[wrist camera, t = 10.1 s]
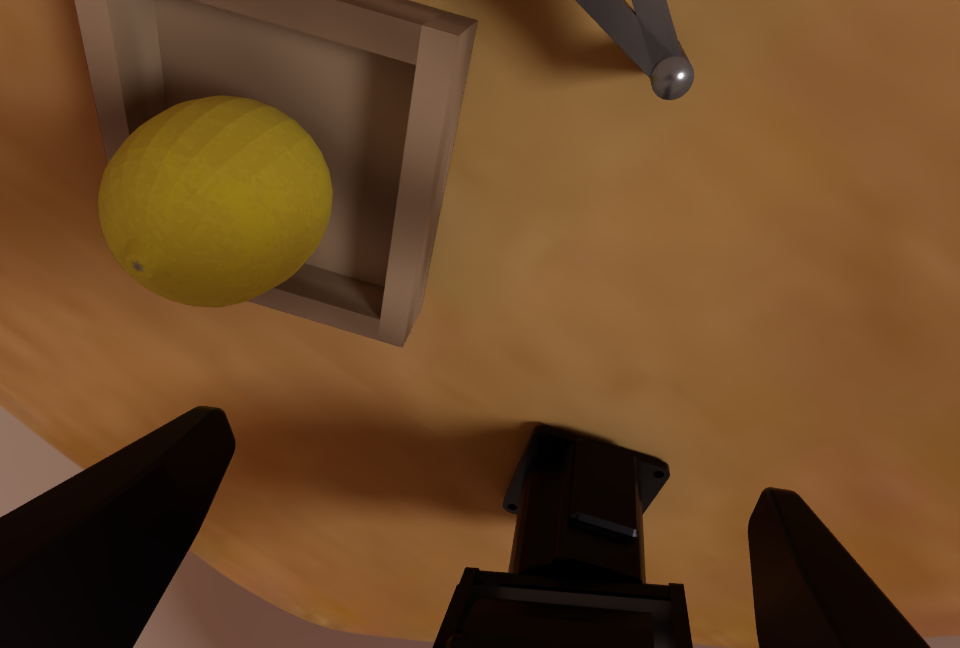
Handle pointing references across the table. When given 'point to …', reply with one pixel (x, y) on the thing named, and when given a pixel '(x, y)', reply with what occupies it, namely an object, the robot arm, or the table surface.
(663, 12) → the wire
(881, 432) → the table surface
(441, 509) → the table surface
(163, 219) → the lemon
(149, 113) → the tray
